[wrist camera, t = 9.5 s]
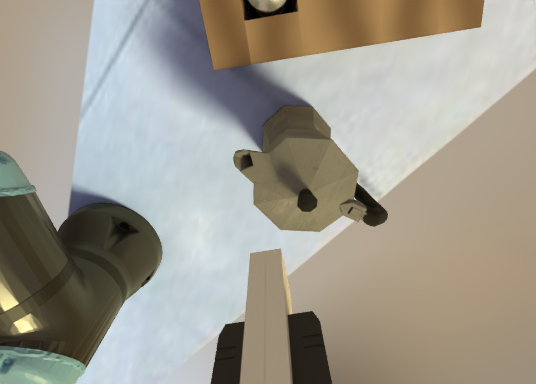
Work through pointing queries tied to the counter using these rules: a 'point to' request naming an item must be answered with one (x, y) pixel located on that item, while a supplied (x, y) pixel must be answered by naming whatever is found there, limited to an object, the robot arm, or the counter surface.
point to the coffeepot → (305, 175)
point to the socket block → (326, 26)
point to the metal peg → (268, 7)
